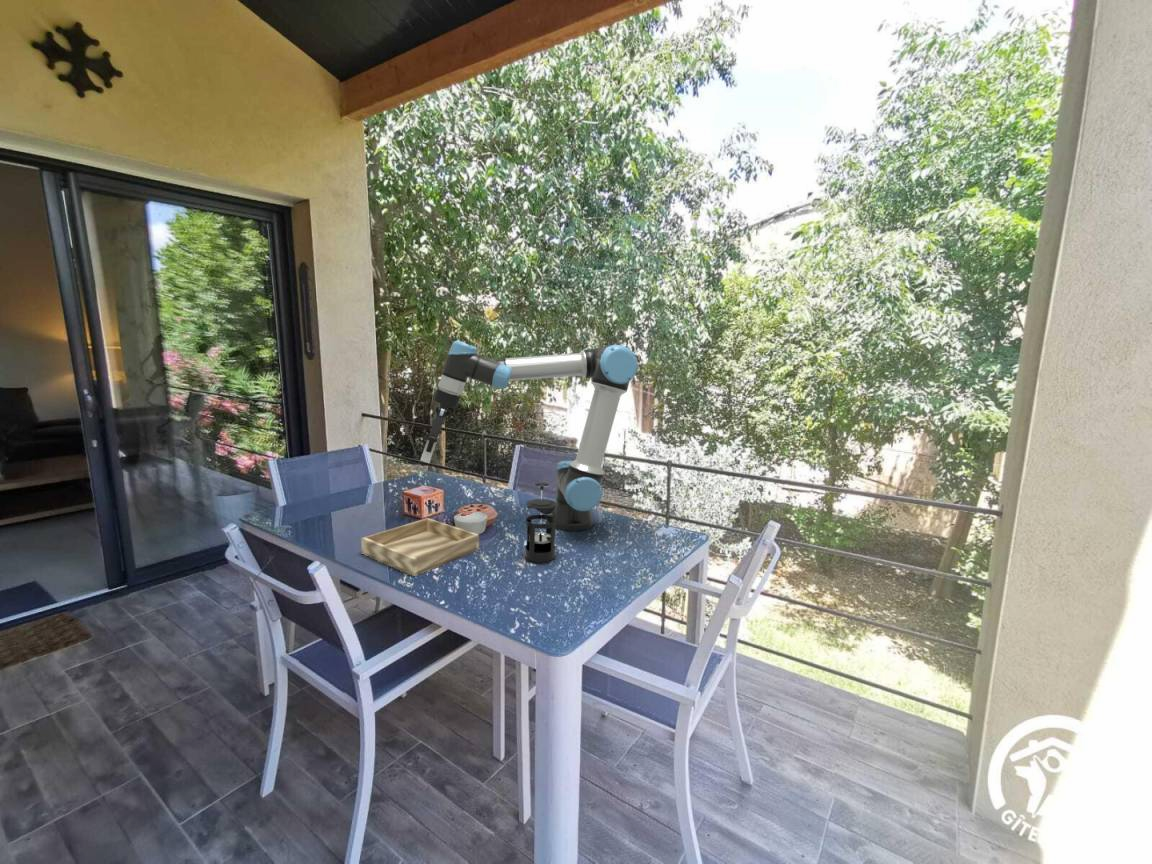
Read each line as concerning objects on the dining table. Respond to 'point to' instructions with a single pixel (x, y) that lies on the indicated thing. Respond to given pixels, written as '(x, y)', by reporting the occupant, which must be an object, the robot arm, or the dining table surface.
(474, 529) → the ramekin
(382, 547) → the pine tray
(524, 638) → the dining table surface
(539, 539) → the french press
